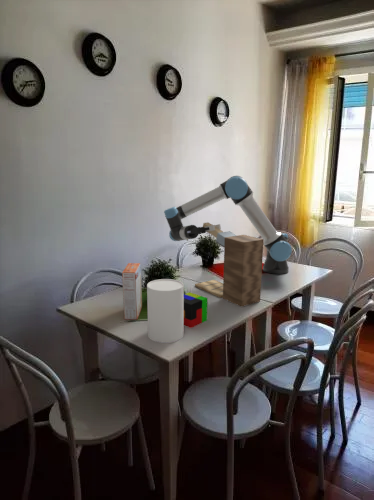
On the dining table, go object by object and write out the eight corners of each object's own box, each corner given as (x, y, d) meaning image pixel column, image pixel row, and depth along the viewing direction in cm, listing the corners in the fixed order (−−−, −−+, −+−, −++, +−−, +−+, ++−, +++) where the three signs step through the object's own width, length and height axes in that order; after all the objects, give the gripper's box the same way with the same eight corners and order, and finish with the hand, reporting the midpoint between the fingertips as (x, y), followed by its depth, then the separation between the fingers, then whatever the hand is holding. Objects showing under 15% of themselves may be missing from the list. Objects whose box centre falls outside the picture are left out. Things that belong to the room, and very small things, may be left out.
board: (214, 281, 206) (214, 279, 206) (240, 292, 190) (240, 290, 189) (194, 286, 199) (194, 283, 199) (220, 298, 182) (220, 295, 182)
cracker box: (129, 307, 170) (127, 262, 166) (142, 307, 170) (141, 262, 165) (123, 320, 157) (121, 271, 152) (137, 320, 157) (136, 272, 152)
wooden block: (241, 293, 189) (243, 234, 182) (260, 301, 178) (263, 239, 171) (222, 298, 182) (224, 237, 175) (241, 306, 172) (244, 242, 164)
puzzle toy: (173, 321, 156) (172, 298, 154) (189, 314, 163) (189, 292, 161) (190, 328, 150) (191, 304, 147) (207, 320, 157) (207, 298, 155)
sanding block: (210, 229, 200) (211, 220, 198) (238, 246, 185) (240, 237, 183) (198, 230, 195) (200, 222, 193) (226, 249, 180) (228, 239, 178)
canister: (175, 345, 136) (175, 292, 131) (141, 339, 140) (140, 288, 136) (188, 329, 148) (188, 281, 143) (157, 324, 153) (156, 277, 148)
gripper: (201, 237, 213) (229, 232, 195) (178, 240, 204) (205, 236, 185) (199, 224, 213) (227, 218, 194) (176, 227, 204) (203, 221, 185)
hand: (217, 227), depth 190 cm, fingers closed on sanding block, 3 cm apart
